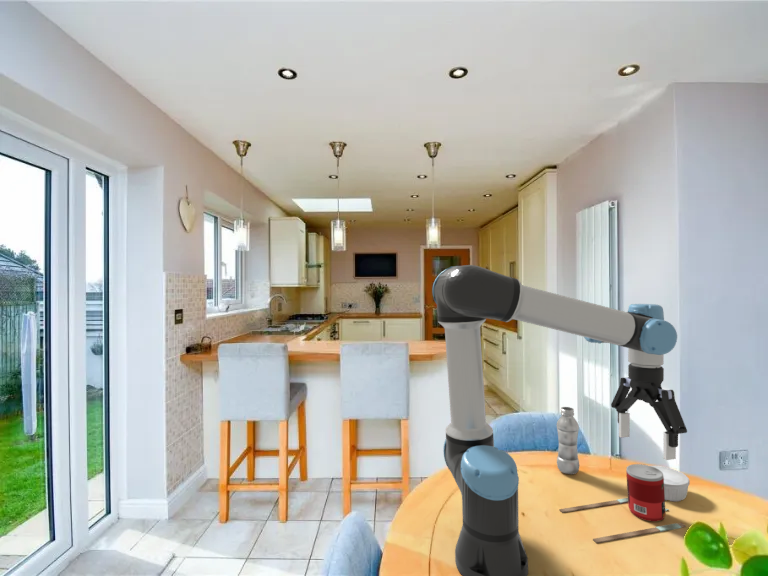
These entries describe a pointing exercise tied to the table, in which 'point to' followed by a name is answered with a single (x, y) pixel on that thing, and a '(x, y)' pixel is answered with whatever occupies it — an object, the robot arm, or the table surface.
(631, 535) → the guide strips
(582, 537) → the table surface
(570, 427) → the plastic bottle
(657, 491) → the canned food
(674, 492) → the ramekin
